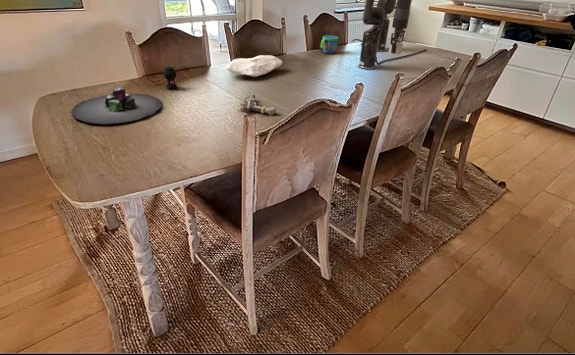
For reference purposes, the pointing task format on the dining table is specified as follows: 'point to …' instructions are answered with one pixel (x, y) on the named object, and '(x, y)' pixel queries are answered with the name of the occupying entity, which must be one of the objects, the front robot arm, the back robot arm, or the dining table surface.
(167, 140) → the dining table surface
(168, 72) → the gumball machine
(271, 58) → the crumpled cloth
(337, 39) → the snack cup
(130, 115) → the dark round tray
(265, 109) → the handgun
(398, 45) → the block
